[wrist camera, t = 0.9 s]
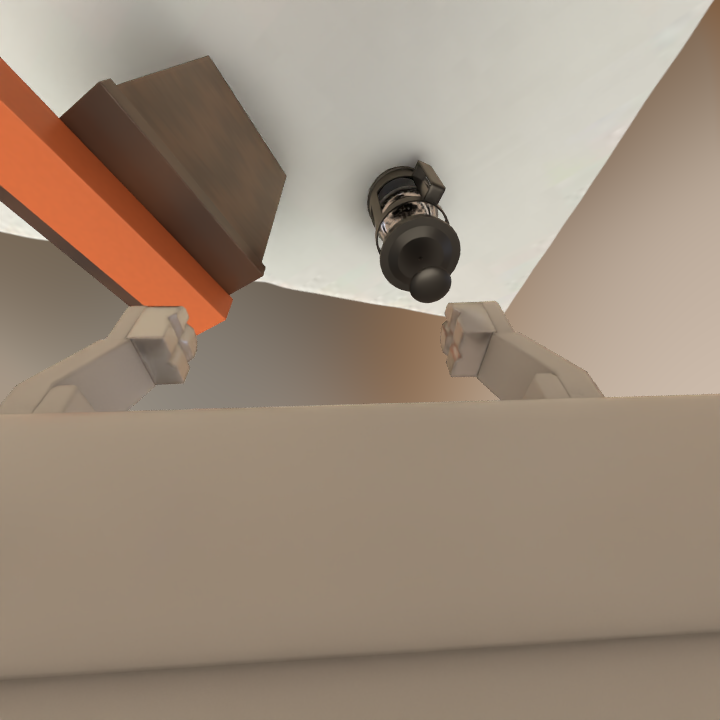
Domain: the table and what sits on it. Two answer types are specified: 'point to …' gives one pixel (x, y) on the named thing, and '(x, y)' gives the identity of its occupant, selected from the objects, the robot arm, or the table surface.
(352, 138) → the table surface
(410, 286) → the french press
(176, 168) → the cabinet
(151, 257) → the orange rectangular bar
